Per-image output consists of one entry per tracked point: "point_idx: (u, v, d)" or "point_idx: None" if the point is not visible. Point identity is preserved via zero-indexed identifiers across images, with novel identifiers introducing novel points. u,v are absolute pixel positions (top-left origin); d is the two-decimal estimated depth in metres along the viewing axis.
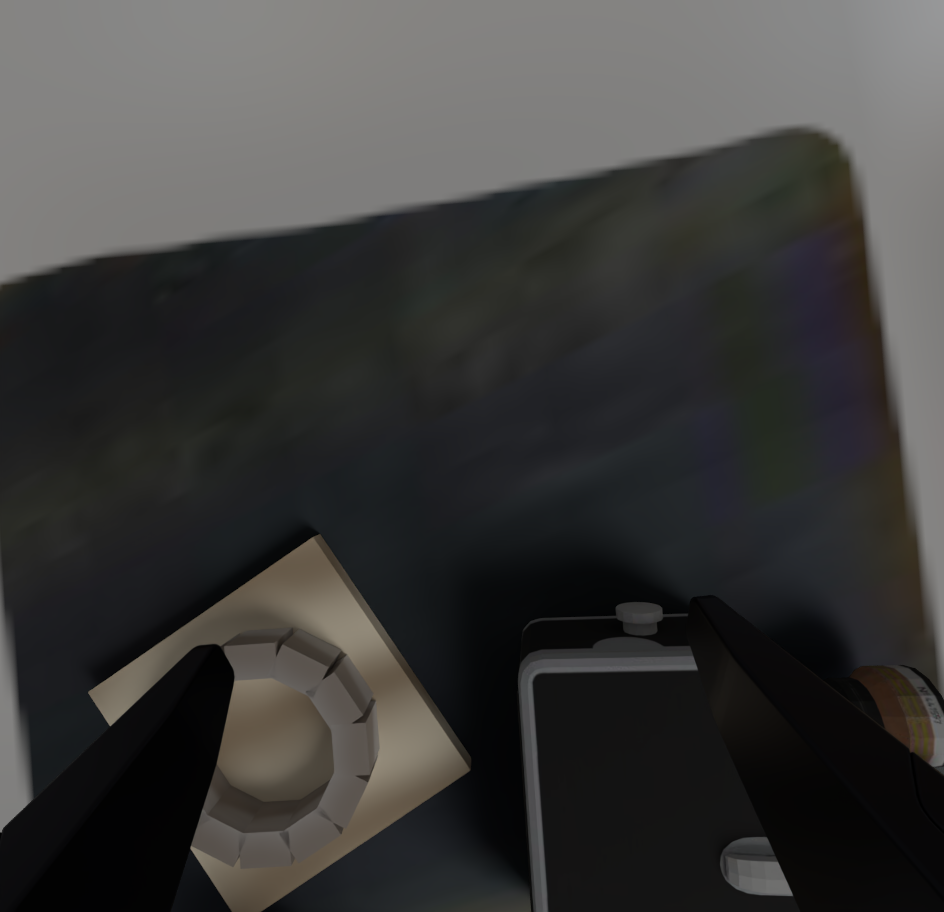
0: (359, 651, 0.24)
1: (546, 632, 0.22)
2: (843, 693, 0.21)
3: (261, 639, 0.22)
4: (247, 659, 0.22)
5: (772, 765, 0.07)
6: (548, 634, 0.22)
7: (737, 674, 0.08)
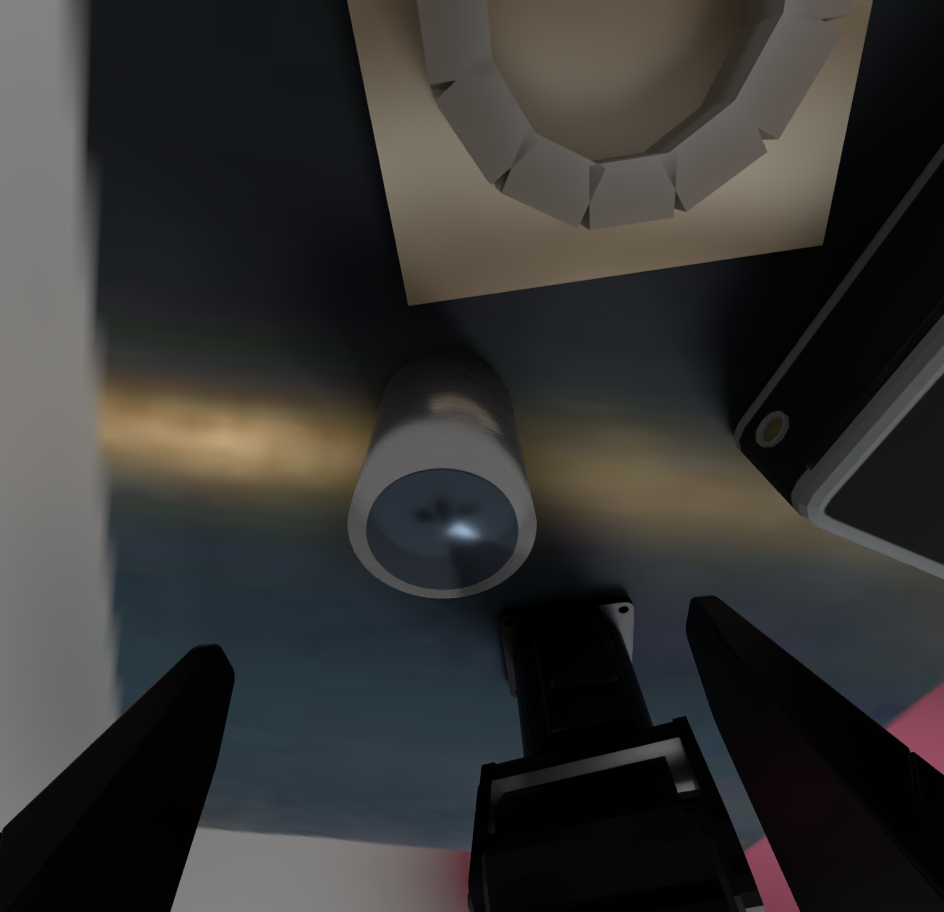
0: None
1: None
2: None
3: None
4: None
5: (772, 765, 0.07)
6: None
7: (737, 674, 0.08)
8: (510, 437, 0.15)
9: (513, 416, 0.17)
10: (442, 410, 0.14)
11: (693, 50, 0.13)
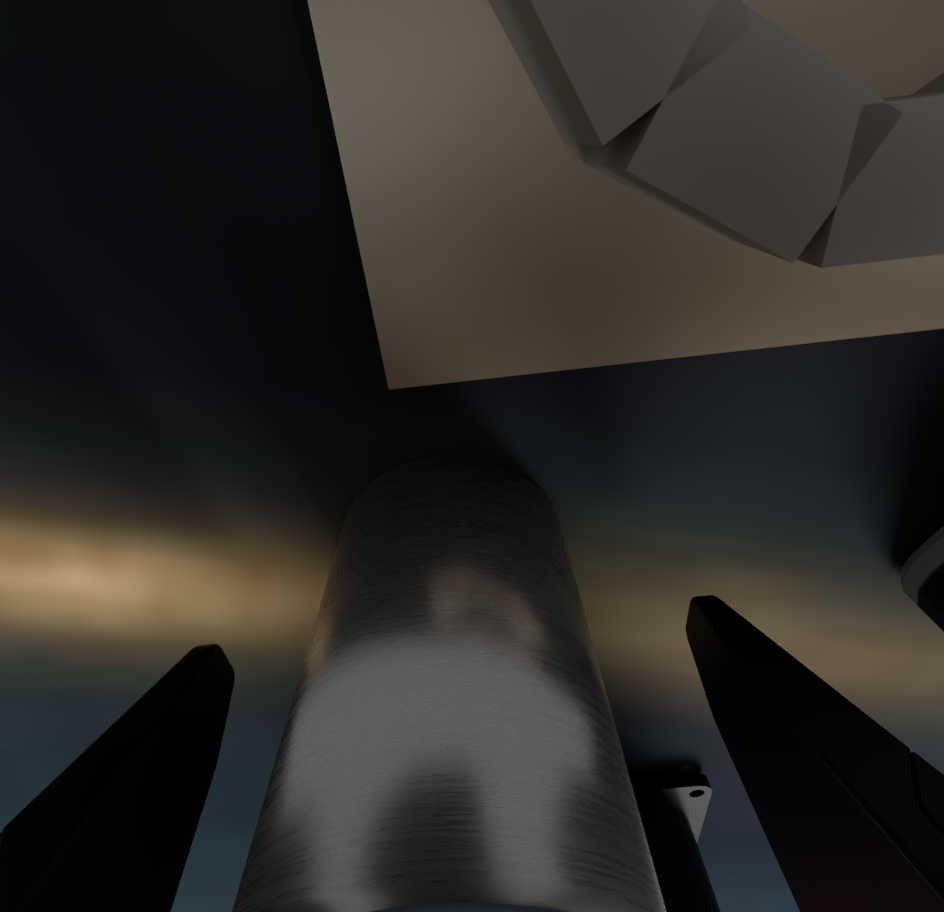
0: None
1: None
2: None
3: None
4: None
5: (772, 765, 0.07)
6: None
7: (737, 674, 0.08)
8: (596, 697, 0.07)
9: None
10: (454, 661, 0.06)
11: None
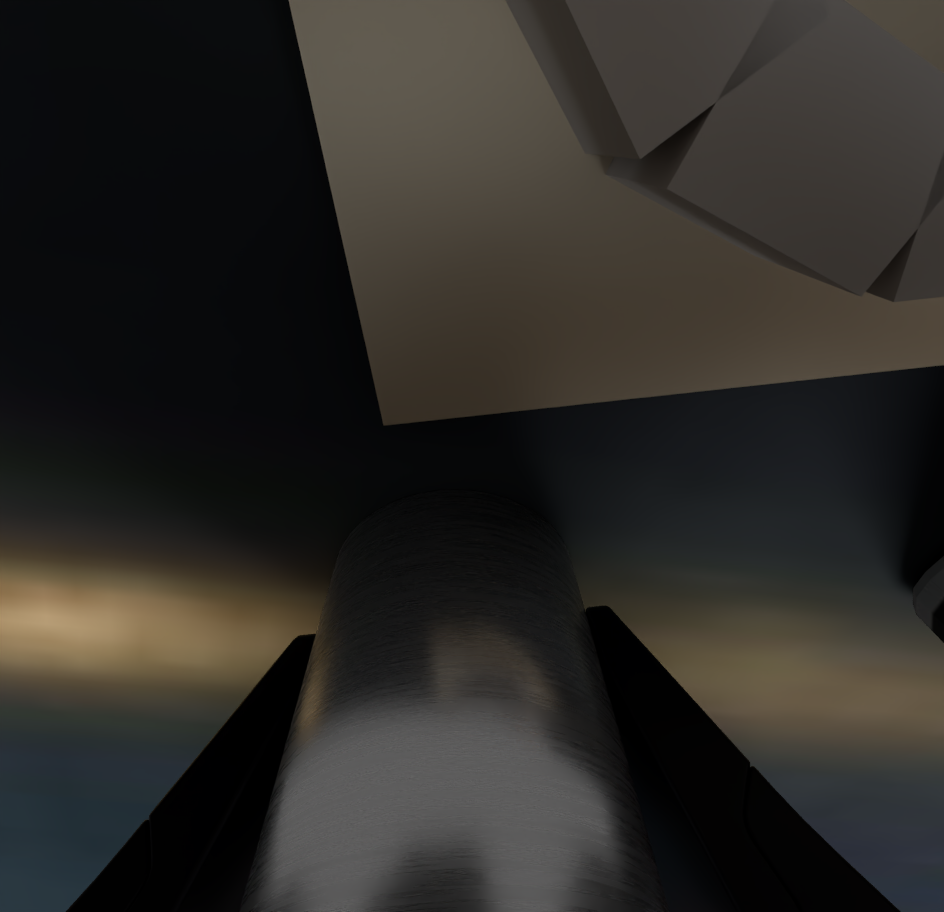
0: None
1: None
2: None
3: None
4: None
5: (638, 777, 0.07)
6: None
7: (612, 686, 0.08)
8: (622, 788, 0.06)
9: None
10: (460, 759, 0.05)
11: None
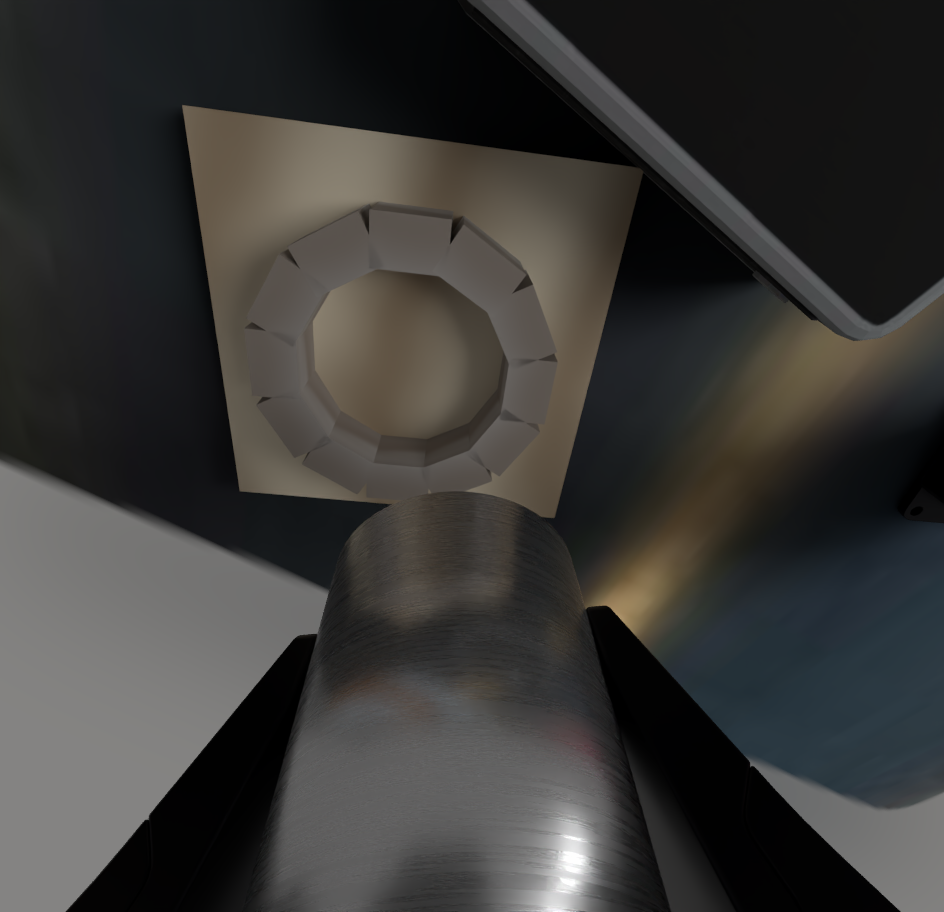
0: (387, 181, 0.15)
1: None
2: None
3: None
4: (279, 304, 0.15)
5: (637, 777, 0.07)
6: None
7: (611, 686, 0.08)
8: (624, 790, 0.06)
9: (595, 644, 0.08)
10: (461, 761, 0.05)
11: (446, 299, 0.17)
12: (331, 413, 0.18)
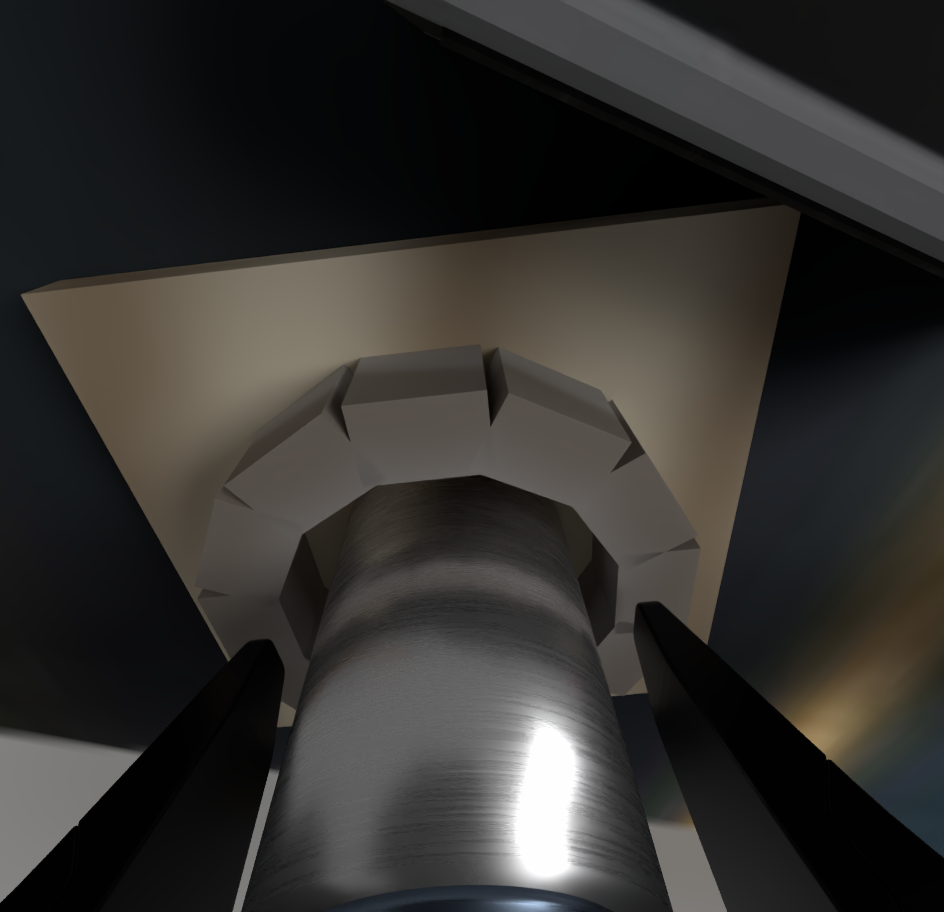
0: (366, 326, 0.09)
1: None
2: None
3: None
4: (239, 560, 0.09)
5: (702, 771, 0.07)
6: None
7: (672, 680, 0.08)
8: (599, 689, 0.07)
9: (579, 586, 0.10)
10: (461, 654, 0.06)
11: None
12: None
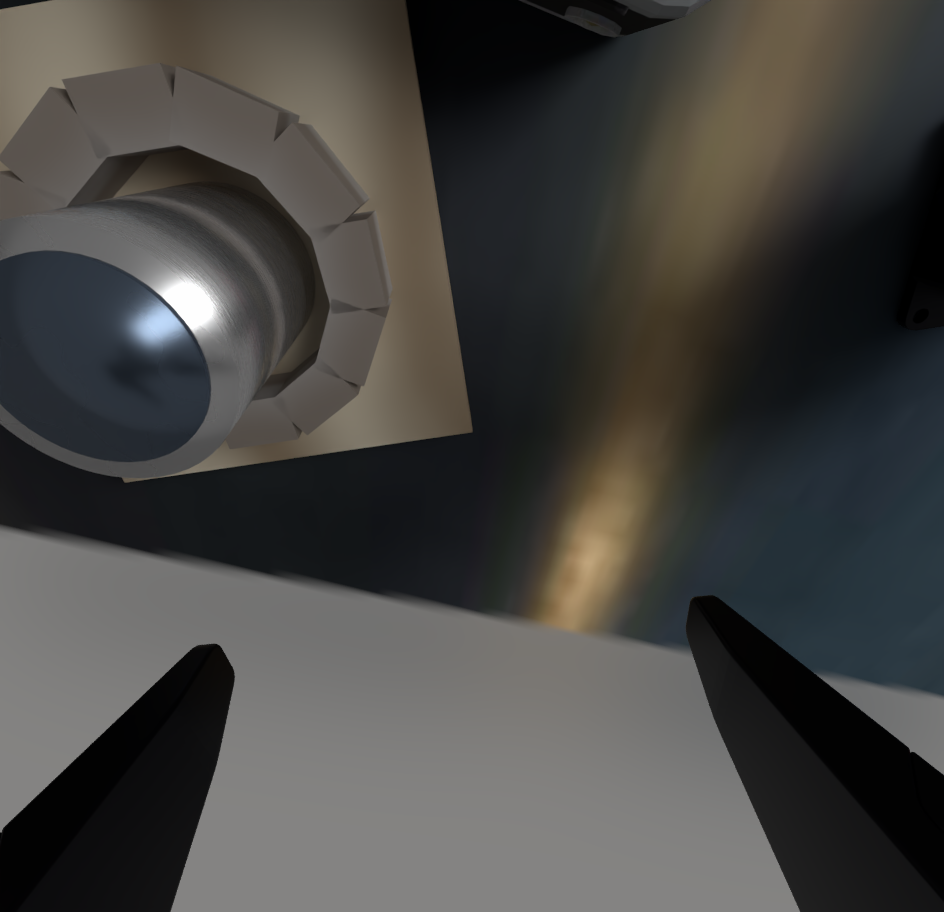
0: (109, 59, 0.13)
1: None
2: None
3: (10, 204, 0.13)
4: None
5: (772, 765, 0.07)
6: None
7: (737, 674, 0.08)
8: (226, 249, 0.10)
9: (281, 254, 0.13)
10: (108, 200, 0.10)
11: None
12: None
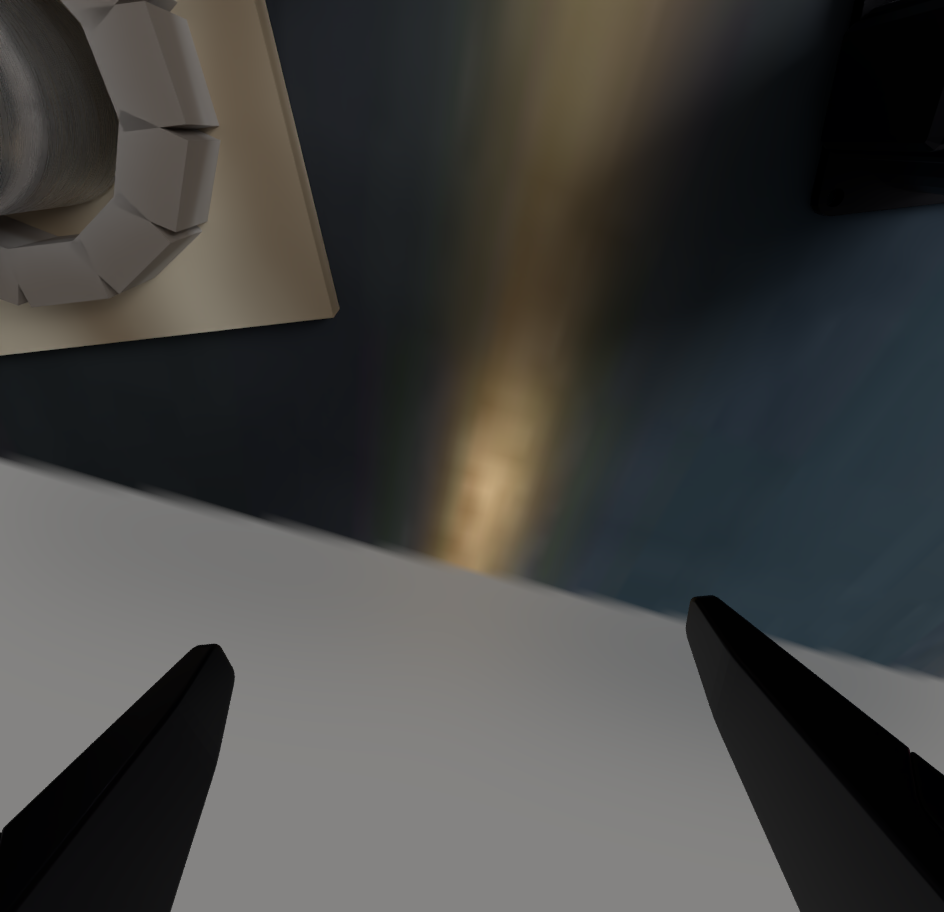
0: None
1: None
2: None
3: None
4: None
5: (772, 765, 0.07)
6: None
7: (737, 674, 0.08)
8: None
9: (39, 33, 0.11)
10: None
11: None
12: None
